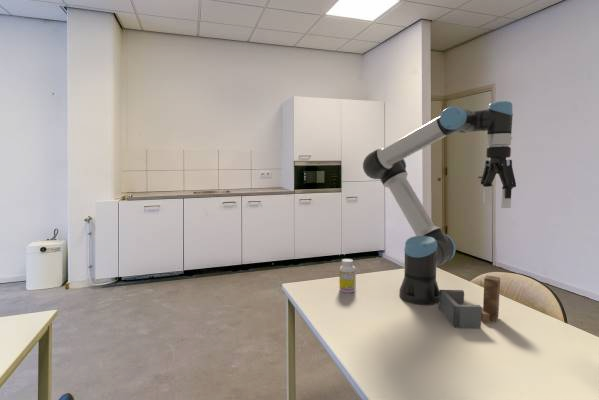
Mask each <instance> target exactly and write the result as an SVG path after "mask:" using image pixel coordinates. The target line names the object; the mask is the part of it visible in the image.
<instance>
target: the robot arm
mask: <svg viewBox="0 0 599 400" xmlns="http://www.w3.org/2000/svg"><path fill="white" fill-rule="evenodd" d="M513 116H514V114H513V103H512V102H511V101H507V100H502V101H494V102H491V103H489V104H488V107H487V108H486V109H483V110H481V109H480V110H474V111H473V110H469V109H466V108H462V107H460V106H448V107H447V108H445V109H443V110H442V111H441V114H440V115H439V116H438V117H436V118H434V119H432V120H431V121H429V122H427V123H426V124H424V125H422V126H420V127H419V128H417V129H415V130H413V131H412V132H410V133H407V134H406V135H404V136H403V137H401V138H399V139H398V140H396V141H393V142H392V143H391V144H389V145H387V146H386V147H381V146H380V147H379V148H377V149H375V150H373V151H371V152H370V153H368V154H367V156H366V157H364V160H363V162H362V168H363V172H364V173H365V175H366V176H367V177H368V178H370V179H374V180H380V182H381V183H382V185H383V187H384V188H388V189H389V190H390V192H391V194H392V196H393V197H394V200H395V201H396V203H397V205H398V206H399V208H400V210H401V212H402V213H403V215H404V217H405V218H406V220H407V222H408V224H409V225H410V228H411V229H412V231H413V233H414V234H415V235H414V236H412V237H411V236H410V237H409V238H408V239H406V241H405V243H404V244H405V245H404V246H405V247H404V277H403V280H402V283H401V286H400V288H399V298H400V299H402V300H403V301H405V302H408V303H411V304H415V305H425V306H427V305H429V306H430V305H435V304H439V290H440V288H439V285H438V282H437V268H438V267H439V266H441V265H445V264H447V263H448V262H450V261H451V260H452V259H453V258H454V257H455V254H456V252H457V251H456V248H457V247H456V243H455V242H454V240H453V239H452V238H451V236H449V235H447V234H445V233H444V231H443V230H442V228H441V227H440V226H436V225H435V224H434V223H433V221H432V219H431V217H430V215H429V214H428V212H427V211H426V209H425V207H424V205H423V204H422V203H421V200H420V199H419V197H418V195H417V193H416V192H415V191H414V189H413V187H412V186H411V184H410V182H409V180H408V179H407V177H408V174H409V173H408V171H407V169H406V168H407V163H406V160H405V158H407V157H410V156H411V155H413V154H416V153H417V152H419V151H421V150H423V149H425V148H427V147H428V146H430V145H432V144H434V143H436V142H438V141H440V140H442V139H443V138H445V137H447V136H450V135H451V134H454V133H463V134H465V133H466V134H467V133H472V132H473V133H474V132H487V133H486V146H487V147H486V152H485V153H486V158H488V159H489V158H490V160H487V159H486V160H485V164H484V168H483V173H482V177H481V180H480V185H482V186H483V192H482V193H483V196H482V198H483V200H482V203H483V205H484V204H485V205H491V204H492V194H493V181H494V180H495V178H496V176H497V174H498V176H499V179H500V182H501V184H502V187H501V206H500V207H501V209H510V208H511V206H512V190H513V188H516V187H517V182H516V179H515V173H514V169H513V160H512V159H507V158H510V157H511V155H512V154H511V153H512V147H511V145H512V140H513V137H512V128H513Z"/></svg>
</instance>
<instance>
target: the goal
mask: <svg viewBox="0 0 599 400" xmlns="http://www.w3.org/2000/svg"><path fill="white" fill-rule="evenodd" d="M464 302H465V291H464V290H463V289H439V302H438V309H439V311H441V313H442V314H443V315H444V316H445V318H446V319H447V320H448V322H449V323H450V324H451V325H452V326H453V328H456V329H458V328H459V329H481V328H482V327H481V326H482V321H481V310H482V308H483V306H481V305H480V304H464Z"/></svg>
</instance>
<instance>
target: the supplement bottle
mask: <svg viewBox="0 0 599 400" xmlns="http://www.w3.org/2000/svg"><path fill="white" fill-rule="evenodd" d="M341 264H342V265H340V267H339V290H340V291H341V292H342V293H348V294H349V293H350V294H351V293H353V292H355V291H356V289H357V288H356V287H357V286H356V280H357V278H356V277H357V275H356V274H357V273H356V271H357V269H356V266H354V260H353V259H352V258H343V259H341Z"/></svg>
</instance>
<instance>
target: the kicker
mask: <svg viewBox="0 0 599 400" xmlns="http://www.w3.org/2000/svg"><path fill="white" fill-rule="evenodd" d="M500 287H501V277H500V276H499V277H498V276H494V275H486V276H485V277H484V281H483V299H482V300H483V303H482V305H483V306H482V310H481V323H483V324H490V322H494V323H498V322H497V321H498V319H499V313H500V312H499V310H500V294H501V293H500V289H501V288H500Z"/></svg>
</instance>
